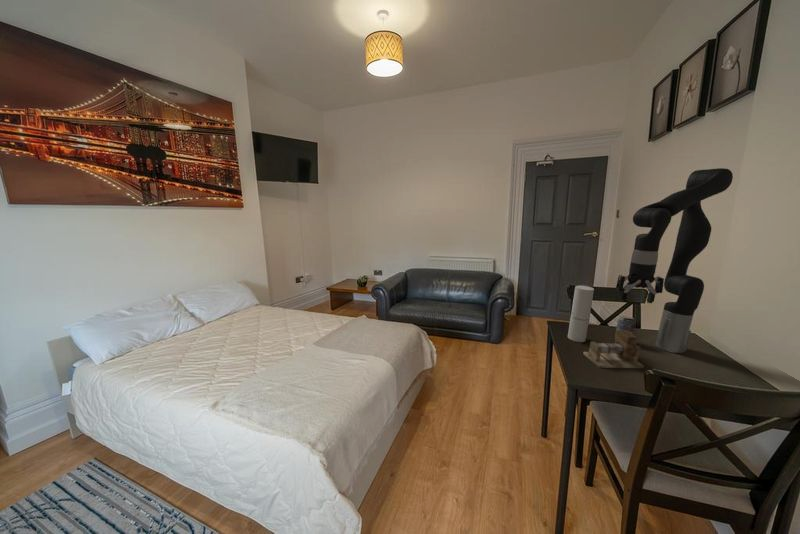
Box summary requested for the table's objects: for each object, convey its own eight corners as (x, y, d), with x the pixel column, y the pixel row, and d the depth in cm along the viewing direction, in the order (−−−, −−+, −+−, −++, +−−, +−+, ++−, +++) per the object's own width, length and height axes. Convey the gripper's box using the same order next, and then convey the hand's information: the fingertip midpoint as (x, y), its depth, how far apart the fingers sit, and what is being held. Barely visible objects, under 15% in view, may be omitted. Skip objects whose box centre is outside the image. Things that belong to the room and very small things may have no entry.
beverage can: (616, 343, 128) (621, 318, 125) (611, 336, 134) (616, 313, 132) (633, 346, 125) (639, 321, 123) (627, 338, 132) (632, 315, 129)
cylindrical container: (580, 335, 135) (588, 285, 129) (588, 342, 128) (597, 290, 123) (564, 334, 136) (572, 285, 130) (572, 341, 129) (580, 289, 123)
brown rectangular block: (621, 351, 116) (625, 330, 114) (632, 359, 110) (637, 337, 108) (612, 351, 116) (616, 330, 114) (623, 359, 110) (628, 337, 108)
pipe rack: (623, 354, 118) (626, 338, 117) (643, 368, 108) (647, 351, 107) (583, 353, 118) (585, 338, 117) (599, 367, 109) (602, 350, 107)
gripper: (659, 260, 108) (652, 300, 112) (617, 259, 112) (611, 297, 115) (672, 264, 101) (664, 306, 105) (626, 263, 105) (619, 304, 108)
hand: (636, 301), depth 110 cm, fingers open, 8 cm apart
